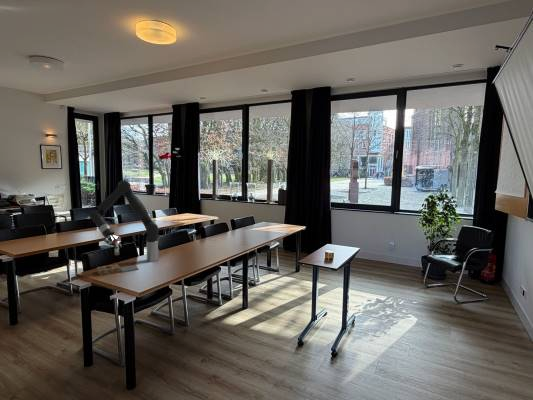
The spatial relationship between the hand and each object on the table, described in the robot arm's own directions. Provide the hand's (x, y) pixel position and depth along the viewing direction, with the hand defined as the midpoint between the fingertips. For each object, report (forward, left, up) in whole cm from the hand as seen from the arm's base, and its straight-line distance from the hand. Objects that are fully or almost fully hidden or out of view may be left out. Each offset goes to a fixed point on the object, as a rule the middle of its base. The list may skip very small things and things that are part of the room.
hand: (118, 247), depth 241 cm
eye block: (+7, -2, -18) cm, 20 cm away
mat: (-7, -1, -18) cm, 20 cm away
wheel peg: (+1, -2, -6) cm, 6 cm away
